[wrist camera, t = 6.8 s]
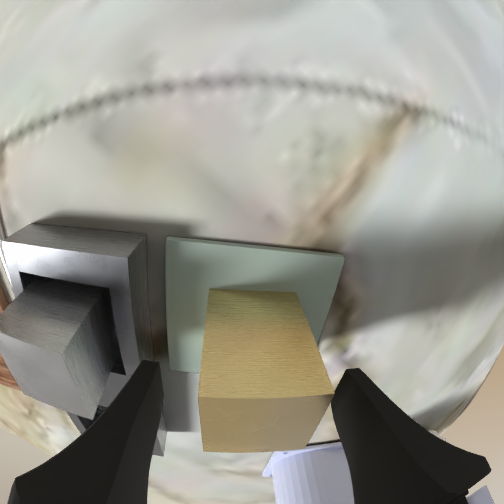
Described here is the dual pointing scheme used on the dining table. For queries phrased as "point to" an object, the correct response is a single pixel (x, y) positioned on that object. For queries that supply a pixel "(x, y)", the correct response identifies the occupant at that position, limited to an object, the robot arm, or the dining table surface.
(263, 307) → the tan wooden block
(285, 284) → the mat
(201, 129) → the dining table surface
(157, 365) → the robot arm
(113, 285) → the gray slotted board
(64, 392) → the gray metal block
